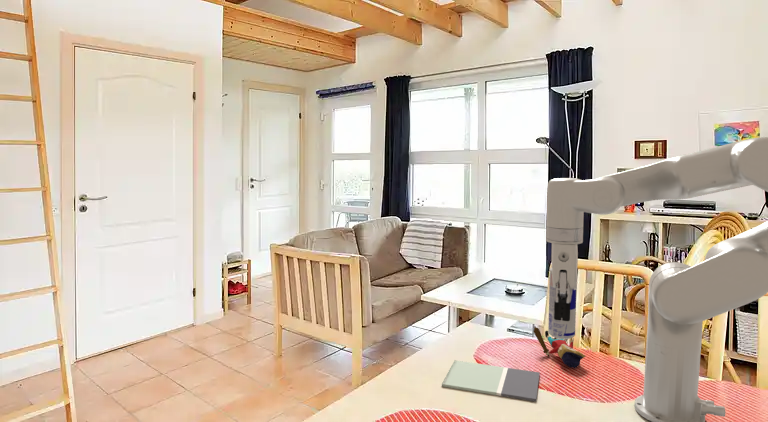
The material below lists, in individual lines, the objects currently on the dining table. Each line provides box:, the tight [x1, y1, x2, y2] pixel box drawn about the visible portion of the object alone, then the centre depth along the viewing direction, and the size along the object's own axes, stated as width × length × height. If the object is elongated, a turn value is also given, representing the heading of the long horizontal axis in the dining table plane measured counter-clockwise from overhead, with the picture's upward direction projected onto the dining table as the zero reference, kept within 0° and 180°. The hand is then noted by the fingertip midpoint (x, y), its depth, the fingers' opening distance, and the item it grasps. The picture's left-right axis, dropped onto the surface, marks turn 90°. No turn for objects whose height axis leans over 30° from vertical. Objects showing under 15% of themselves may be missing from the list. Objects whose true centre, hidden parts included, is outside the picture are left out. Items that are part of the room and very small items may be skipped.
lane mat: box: [441, 359, 541, 402], centre depth 117 cm, size 21×14×1 cm, turn 70°
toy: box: [533, 325, 587, 369], centre depth 129 cm, size 9×6×15 cm
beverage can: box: [547, 267, 577, 340], centre depth 108 cm, size 6×6×15 cm
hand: (562, 315), depth 108 cm, fingers closed on beverage can, 4 cm apart
